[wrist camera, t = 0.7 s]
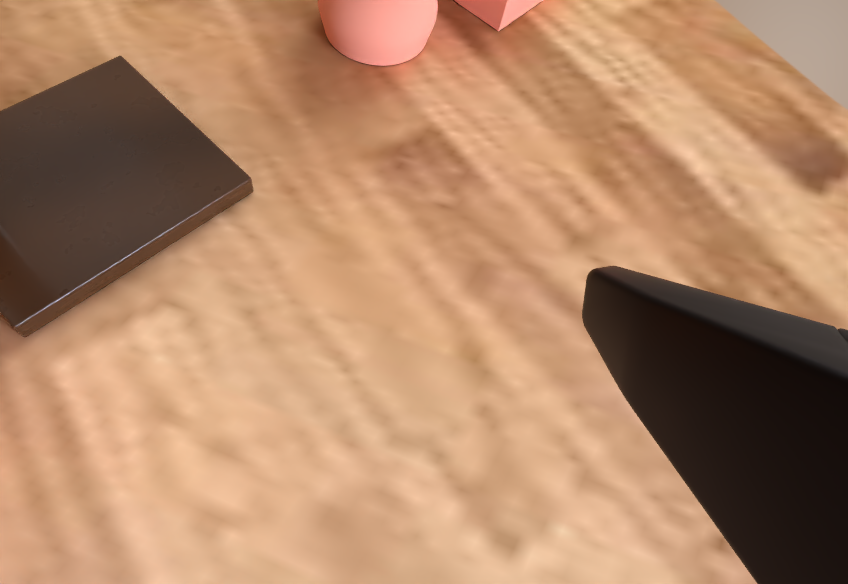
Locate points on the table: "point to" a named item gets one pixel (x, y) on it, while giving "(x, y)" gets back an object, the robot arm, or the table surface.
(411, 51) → the pottery
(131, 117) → the hook stand
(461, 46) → the table surface
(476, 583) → the table surface
